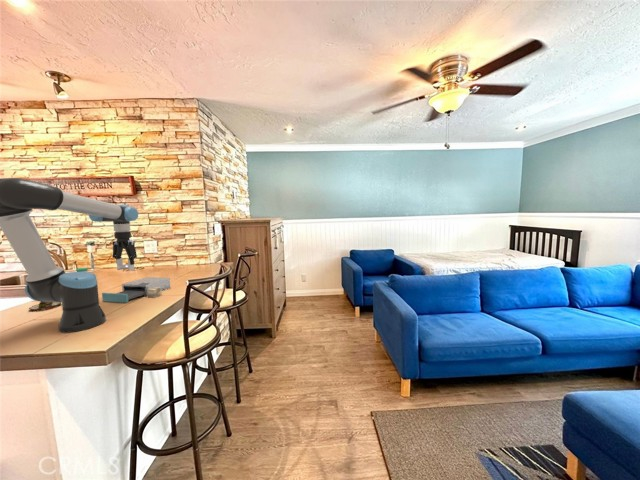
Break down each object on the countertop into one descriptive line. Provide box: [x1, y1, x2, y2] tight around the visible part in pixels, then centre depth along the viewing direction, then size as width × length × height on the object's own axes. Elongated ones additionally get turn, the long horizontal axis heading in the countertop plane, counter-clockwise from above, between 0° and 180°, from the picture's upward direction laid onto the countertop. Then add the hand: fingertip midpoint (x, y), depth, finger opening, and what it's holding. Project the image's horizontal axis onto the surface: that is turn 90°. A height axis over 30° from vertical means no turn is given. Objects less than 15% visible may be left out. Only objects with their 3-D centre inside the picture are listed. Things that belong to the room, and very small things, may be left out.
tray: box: [101, 289, 145, 304], centre depth 147 cm, size 17×17×5 cm
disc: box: [116, 263, 129, 270], centre depth 145 cm, size 8×8×2 cm
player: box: [121, 276, 171, 297], centre depth 160 cm, size 18×18×7 cm
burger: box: [28, 301, 62, 313], centre depth 133 cm, size 12×12×8 cm
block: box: [147, 287, 163, 299], centre depth 149 cm, size 5×5×5 cm
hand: (125, 269), depth 145 cm, fingers closed on disc, 8 cm apart
